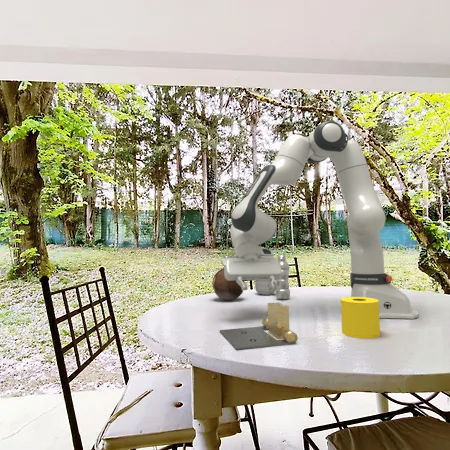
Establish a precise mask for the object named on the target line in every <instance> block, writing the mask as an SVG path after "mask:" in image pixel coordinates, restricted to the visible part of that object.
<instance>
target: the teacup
mask: <svg viewBox="0 0 450 450" xmlns="http://www.w3.org/2000/svg"><path fill="white" fill-rule="evenodd" d="M276 282H277V281H276V280H274V281H273V284H274V288H273V289H270V290H269V289H268V286H267V285H268V283H270V282H269V281H268V280H254V289H255V291H256V293H258V295H264V296H270V295H273V294H274V293H275V292H276Z"/></svg>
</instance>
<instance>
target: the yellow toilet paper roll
mask: <svg viewBox="0 0 450 450" xmlns="http://www.w3.org/2000/svg"><path fill="white" fill-rule="evenodd" d="M340 311H341V312H340V314H341V315H340V316H341V332H342V334H343V335H344V334H345V336H346V335H347V337H350V336H351V337H350V338H355V337H357V338H356V339H375V338H376V337H377V338H379V337H381V322H380V318H379V300H377V299H374V298H367V297H351V296H347V297H341V298H340Z"/></svg>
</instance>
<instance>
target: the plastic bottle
mask: <svg viewBox="0 0 450 450" xmlns="http://www.w3.org/2000/svg"><path fill="white" fill-rule="evenodd" d="M277 260H278V262H279V264H280V266H281V269H282V275H281V276H280V278H279V279H277V280H276V281H277V282H276V291H275V292H274V293H275V297H276V299H277V300H282V301H284V300H288V299H290V297H291V290H290V285H289V284H290V283H289V274H290V265H289V263H288V262H287V261H286V260H287V257H286V255H284V254H282V255H277Z"/></svg>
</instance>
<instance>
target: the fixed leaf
mask: <svg viewBox="0 0 450 450" xmlns="http://www.w3.org/2000/svg"><path fill="white" fill-rule="evenodd" d="M261 324H262V326H251V327H239V328H238V327H237V328H229V329H228V328H227V329H219V333H220V334H221V335H222V336H223V337H224V339H226V340H227V342H229V344H230V345H231V347H233V348H234V349H235V351H241V350H243V351H244V350H250V349H253V350H254V349H262V348H270V347H281V346H289V345H294V344H296V343H297V342H298V339H299V338H298V335H297V333H296V332H294V331H293V330H285V331H284V332H283V333H282V338H283V339H277V338H275V337H274V336H272V335H271V334H270V333H267V332H266V331H268V317H264V318H263V319H262V321H261Z"/></svg>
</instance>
